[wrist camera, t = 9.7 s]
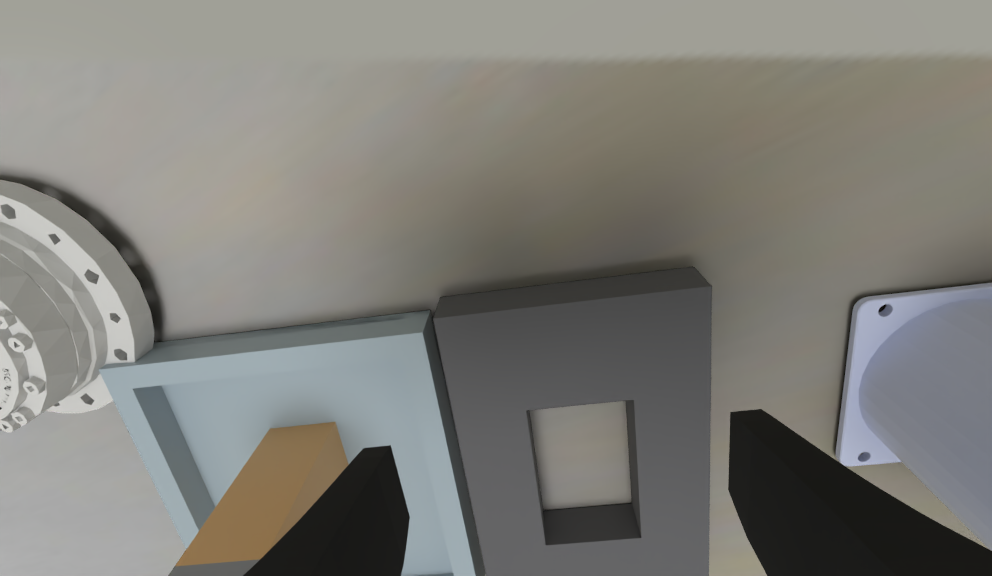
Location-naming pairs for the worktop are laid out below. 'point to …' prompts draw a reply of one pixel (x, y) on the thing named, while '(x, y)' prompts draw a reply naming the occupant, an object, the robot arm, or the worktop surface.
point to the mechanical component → (61, 309)
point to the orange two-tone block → (265, 499)
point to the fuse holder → (579, 381)
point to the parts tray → (304, 419)
